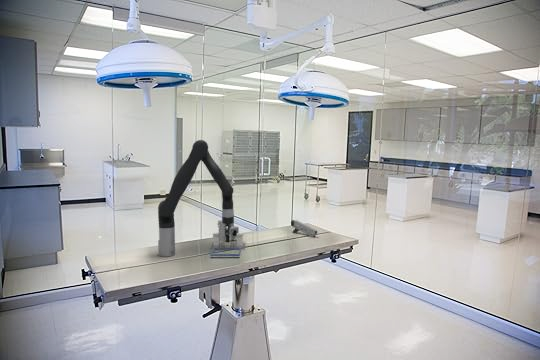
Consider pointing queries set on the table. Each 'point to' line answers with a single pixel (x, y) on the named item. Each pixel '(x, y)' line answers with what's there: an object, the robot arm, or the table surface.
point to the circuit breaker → (222, 231)
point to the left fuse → (216, 240)
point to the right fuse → (239, 240)
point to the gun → (303, 228)
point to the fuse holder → (231, 244)
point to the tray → (225, 254)
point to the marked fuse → (228, 244)
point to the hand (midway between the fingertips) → (228, 240)
